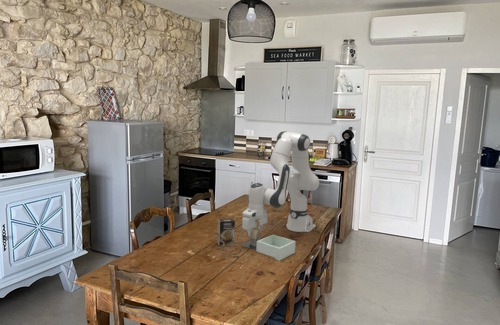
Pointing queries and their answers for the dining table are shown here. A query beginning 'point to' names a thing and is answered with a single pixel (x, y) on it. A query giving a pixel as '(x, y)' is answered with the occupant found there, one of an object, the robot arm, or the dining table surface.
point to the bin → (276, 247)
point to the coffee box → (226, 232)
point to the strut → (255, 234)
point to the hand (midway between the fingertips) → (254, 233)
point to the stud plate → (248, 246)
